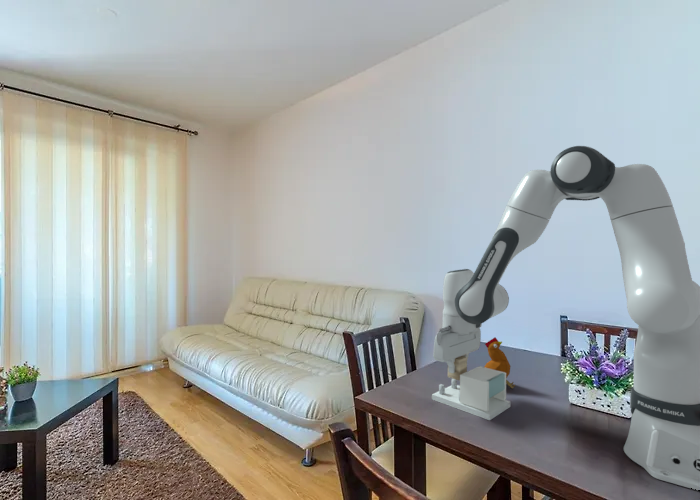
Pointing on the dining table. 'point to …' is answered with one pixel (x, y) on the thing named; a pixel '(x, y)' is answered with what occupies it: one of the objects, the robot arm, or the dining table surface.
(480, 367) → the cover
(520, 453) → the dining table surface
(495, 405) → the white peg base plate
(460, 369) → the block
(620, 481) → the dining table surface
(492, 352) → the toy
